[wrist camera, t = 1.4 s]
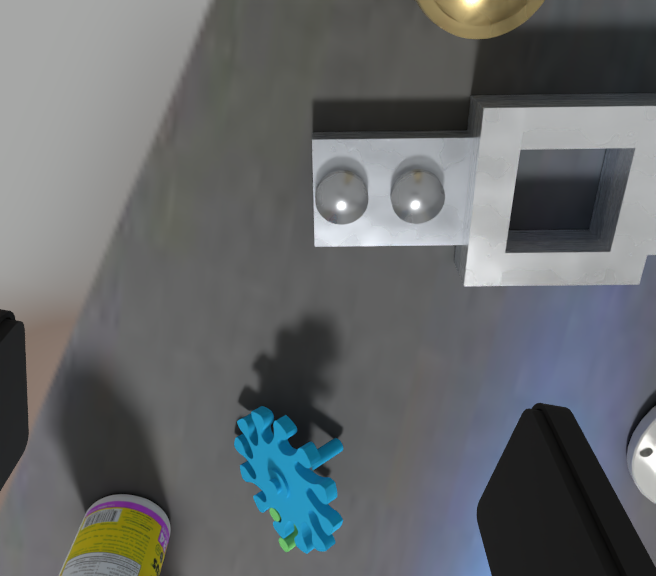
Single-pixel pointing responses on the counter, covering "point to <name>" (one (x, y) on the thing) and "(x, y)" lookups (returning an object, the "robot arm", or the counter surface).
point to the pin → (479, 15)
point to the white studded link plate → (496, 189)
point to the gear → (289, 480)
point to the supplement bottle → (119, 539)
